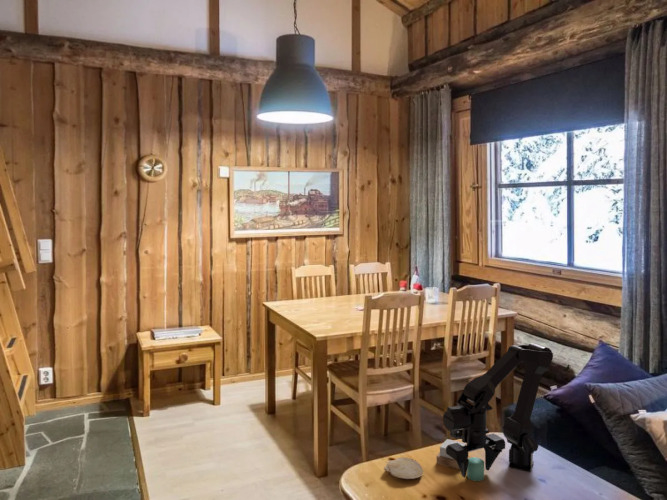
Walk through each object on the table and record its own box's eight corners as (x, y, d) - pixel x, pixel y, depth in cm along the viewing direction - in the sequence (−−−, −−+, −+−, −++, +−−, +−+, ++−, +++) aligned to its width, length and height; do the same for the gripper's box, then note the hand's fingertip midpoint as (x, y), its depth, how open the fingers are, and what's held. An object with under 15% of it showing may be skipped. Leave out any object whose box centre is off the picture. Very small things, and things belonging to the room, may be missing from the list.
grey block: (466, 452, 174) (466, 443, 174) (459, 460, 169) (459, 451, 169) (446, 447, 178) (446, 438, 178) (439, 455, 172) (439, 447, 172)
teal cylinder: (485, 475, 165) (486, 459, 165) (481, 482, 161) (481, 467, 160) (469, 471, 168) (469, 456, 167) (465, 478, 163) (465, 463, 163)
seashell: (430, 479, 163) (430, 470, 163) (397, 488, 159) (397, 478, 158) (410, 462, 174) (411, 453, 174) (378, 469, 169) (378, 461, 169)
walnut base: (468, 460, 176) (468, 451, 175) (460, 471, 169) (461, 462, 168) (444, 454, 179) (444, 445, 179) (436, 465, 173) (436, 456, 172)
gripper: (482, 409, 174) (481, 455, 175) (435, 420, 166) (434, 468, 168) (507, 422, 164) (506, 470, 165) (458, 434, 156) (457, 485, 157)
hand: (475, 473), depth 164 cm, fingers open, 9 cm apart
